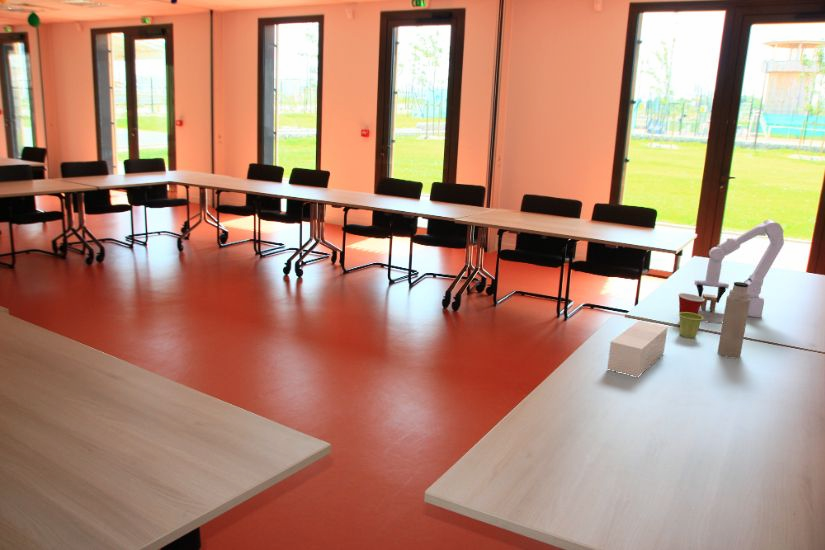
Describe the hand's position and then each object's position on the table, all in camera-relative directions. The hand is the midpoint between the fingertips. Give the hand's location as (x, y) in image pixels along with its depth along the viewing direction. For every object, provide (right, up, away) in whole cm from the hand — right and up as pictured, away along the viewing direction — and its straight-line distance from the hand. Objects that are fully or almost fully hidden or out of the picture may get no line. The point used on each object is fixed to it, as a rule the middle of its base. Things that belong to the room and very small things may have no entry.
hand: (708, 301), depth 323 cm
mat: (-3, -7, -12) cm, 15 cm away
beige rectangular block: (-57, -19, -72) cm, 94 cm away
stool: (0, -4, +1) cm, 4 cm away
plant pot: (-26, -13, -40) cm, 49 cm away
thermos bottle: (-18, -18, -59) cm, 64 cm away
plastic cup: (-18, -9, -21) cm, 29 cm away
